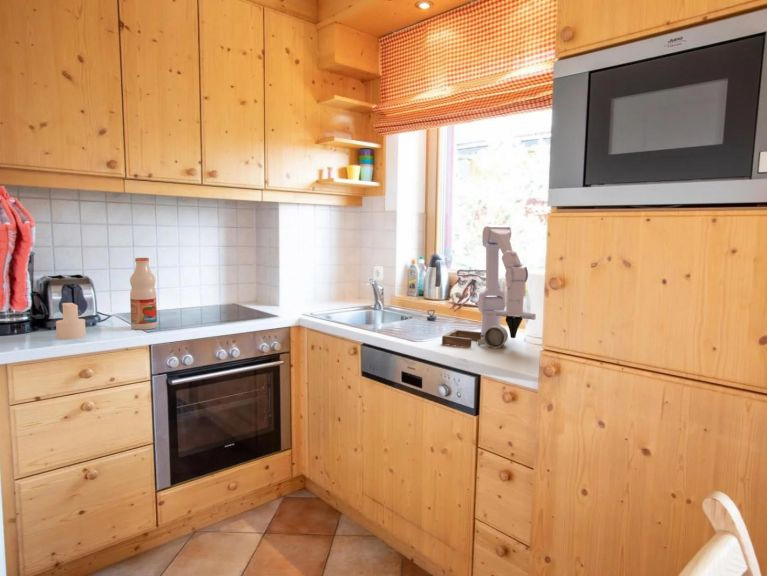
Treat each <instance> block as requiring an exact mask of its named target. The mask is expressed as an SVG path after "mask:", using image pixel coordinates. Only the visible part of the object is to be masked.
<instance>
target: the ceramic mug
mask: <svg viewBox="0 0 767 576" xmlns="http://www.w3.org/2000/svg"><path fill="white" fill-rule="evenodd" d="M508 336H509V335H508V331H507V330H506V329H505V327H503V326H502V325H501V326H493V327H491V328H489V329H487V330H486V332H485V333H484V336H483V337H481V339H480V340H476V341H477V344H478V345H482V344H485V345H487V347H489V348H492V349H498V348H501V347H502V346H503V345H504V344H505V343H506V342H507V340H508V338H509V337H508Z"/></svg>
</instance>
